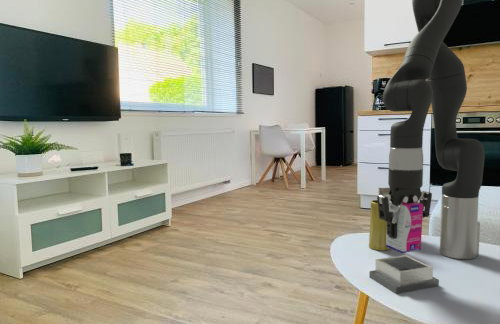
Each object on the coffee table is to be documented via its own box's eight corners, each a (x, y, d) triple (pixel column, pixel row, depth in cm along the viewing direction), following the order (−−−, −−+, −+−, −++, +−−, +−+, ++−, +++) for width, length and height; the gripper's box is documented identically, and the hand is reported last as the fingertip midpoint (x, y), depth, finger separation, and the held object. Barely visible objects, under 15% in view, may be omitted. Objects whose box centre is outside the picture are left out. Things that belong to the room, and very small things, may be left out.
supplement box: (403, 254, 90) (404, 205, 88) (385, 246, 95) (386, 200, 94) (422, 250, 92) (423, 203, 91) (403, 243, 97) (404, 198, 96)
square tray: (409, 270, 101) (409, 253, 100) (438, 285, 91) (439, 267, 91) (369, 277, 97) (369, 259, 97) (395, 293, 88) (396, 274, 87)
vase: (367, 243, 122) (367, 199, 121) (387, 244, 122) (388, 199, 120) (370, 250, 116) (371, 203, 115) (391, 251, 116) (392, 203, 114)
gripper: (419, 163, 97) (417, 229, 99) (369, 166, 93) (368, 235, 94) (442, 166, 90) (440, 237, 92) (390, 170, 85) (388, 244, 87)
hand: (403, 236), depth 93 cm, fingers closed on supplement box, 6 cm apart
